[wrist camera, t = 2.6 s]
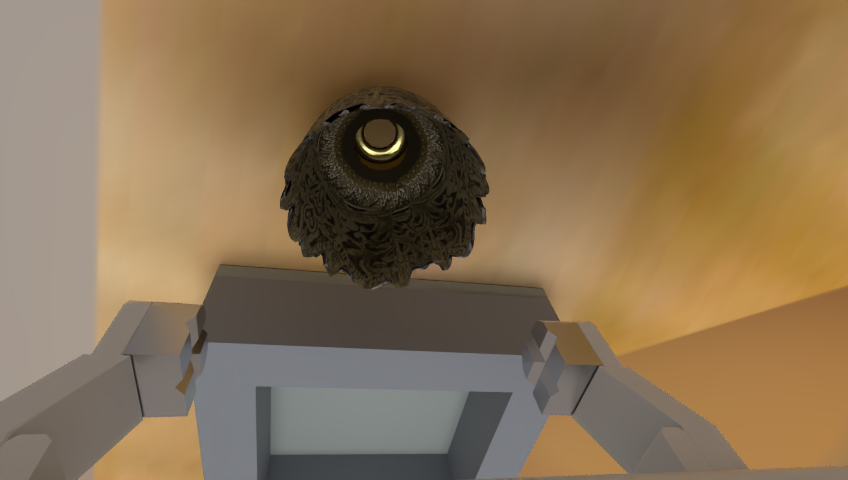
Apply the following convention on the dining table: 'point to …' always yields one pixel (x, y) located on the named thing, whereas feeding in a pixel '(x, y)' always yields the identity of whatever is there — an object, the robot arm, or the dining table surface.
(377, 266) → the wire cup brush
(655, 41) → the dining table surface
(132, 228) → the dining table surface
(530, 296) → the gray square tray
